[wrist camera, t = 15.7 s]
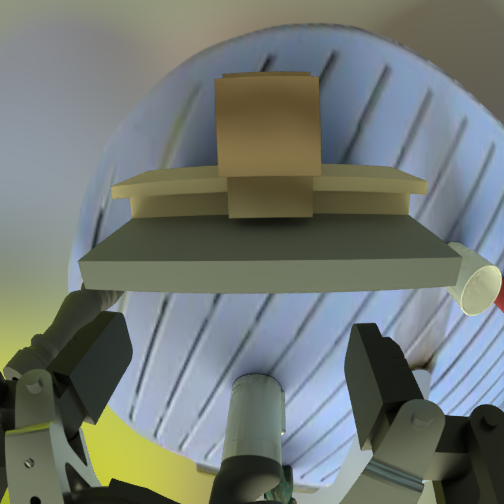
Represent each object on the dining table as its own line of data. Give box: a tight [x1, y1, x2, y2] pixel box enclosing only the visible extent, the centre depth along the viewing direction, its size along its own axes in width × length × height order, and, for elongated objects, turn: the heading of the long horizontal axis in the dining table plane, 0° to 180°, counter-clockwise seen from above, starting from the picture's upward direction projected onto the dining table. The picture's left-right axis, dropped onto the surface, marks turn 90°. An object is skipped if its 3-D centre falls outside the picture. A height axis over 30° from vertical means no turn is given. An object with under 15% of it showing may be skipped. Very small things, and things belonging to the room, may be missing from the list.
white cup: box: [445, 242, 502, 316], centre depth 36 cm, size 8×8×10 cm
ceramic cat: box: [264, 466, 297, 504], centre depth 55 cm, size 20×6×20 cm, turn 16°
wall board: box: [78, 164, 463, 293], centre depth 28 cm, size 12×24×24 cm, turn 92°
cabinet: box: [215, 72, 321, 218], centre depth 22 cm, size 10×6×12 cm, turn 2°
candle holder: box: [3, 282, 124, 380], centre depth 34 cm, size 6×6×25 cm
